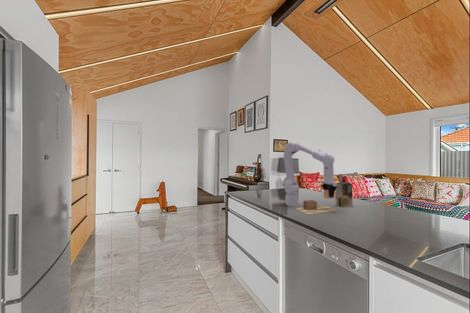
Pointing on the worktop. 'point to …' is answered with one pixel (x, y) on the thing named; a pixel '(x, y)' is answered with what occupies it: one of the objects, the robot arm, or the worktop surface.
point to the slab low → (310, 207)
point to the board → (319, 210)
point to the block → (327, 194)
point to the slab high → (310, 203)
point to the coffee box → (344, 195)
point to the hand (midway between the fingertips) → (329, 196)
